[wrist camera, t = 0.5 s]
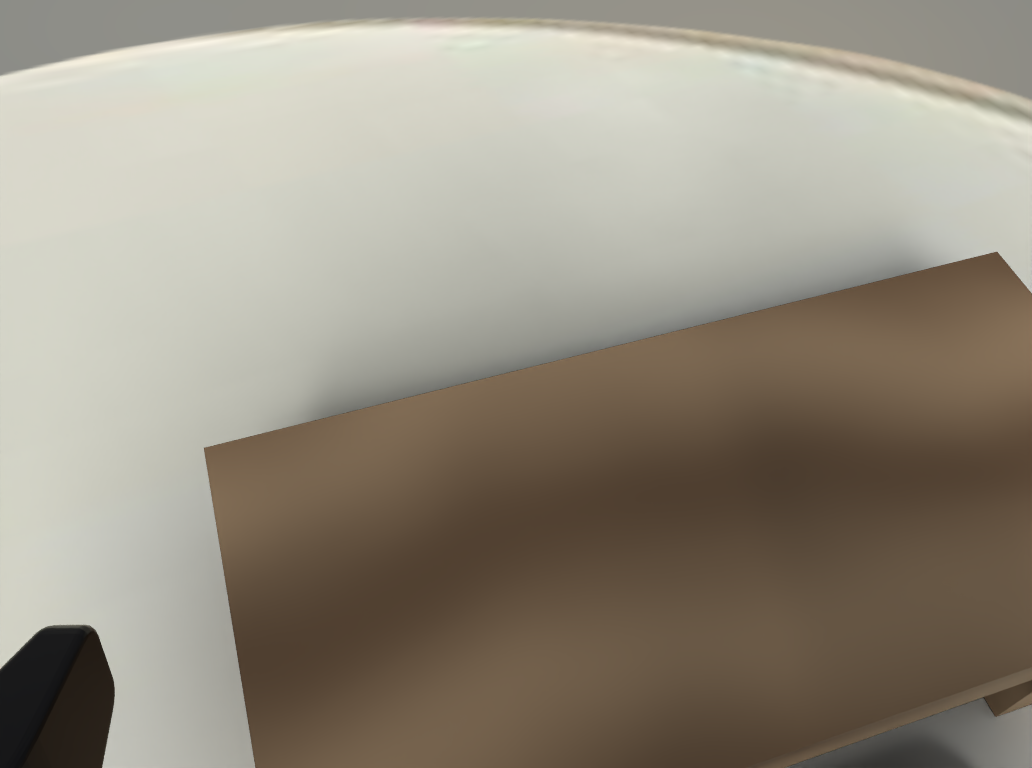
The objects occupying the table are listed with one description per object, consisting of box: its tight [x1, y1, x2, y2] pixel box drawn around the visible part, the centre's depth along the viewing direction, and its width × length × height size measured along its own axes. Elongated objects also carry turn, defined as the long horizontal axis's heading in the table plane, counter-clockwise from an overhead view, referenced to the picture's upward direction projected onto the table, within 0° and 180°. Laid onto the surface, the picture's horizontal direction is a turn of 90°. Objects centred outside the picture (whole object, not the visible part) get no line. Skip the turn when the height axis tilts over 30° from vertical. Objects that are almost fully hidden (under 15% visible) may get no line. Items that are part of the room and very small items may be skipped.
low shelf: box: [204, 252, 1032, 768], centre depth 22 cm, size 10×20×5 cm, turn 108°
